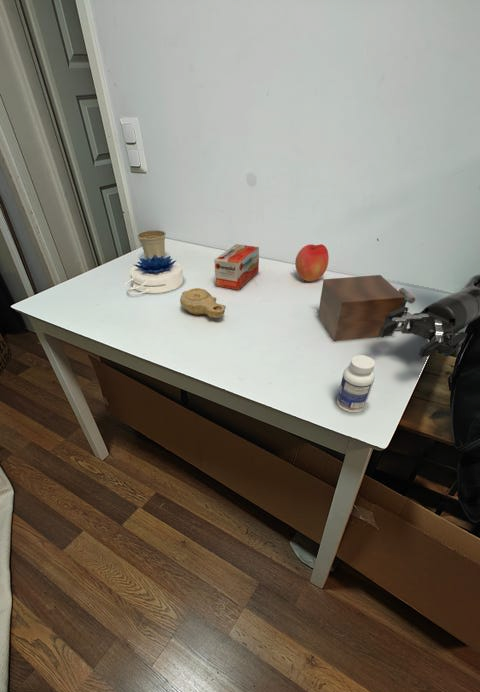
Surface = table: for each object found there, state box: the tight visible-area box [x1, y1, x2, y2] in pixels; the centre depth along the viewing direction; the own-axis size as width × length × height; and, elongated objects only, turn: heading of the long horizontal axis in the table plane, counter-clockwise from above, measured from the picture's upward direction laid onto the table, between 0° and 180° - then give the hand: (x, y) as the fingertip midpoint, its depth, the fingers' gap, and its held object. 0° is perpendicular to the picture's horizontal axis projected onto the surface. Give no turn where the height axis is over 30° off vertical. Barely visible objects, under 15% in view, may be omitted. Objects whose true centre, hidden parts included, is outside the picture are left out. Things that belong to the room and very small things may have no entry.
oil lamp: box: [179, 287, 227, 319], centre depth 90 cm, size 11×14×5 cm
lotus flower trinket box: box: [124, 255, 184, 295], centre depth 102 cm, size 7×16×20 cm
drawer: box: [397, 287, 416, 326], centre depth 83 cm, size 18×11×8 cm, turn 99°
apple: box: [294, 243, 330, 282], centre depth 102 cm, size 10×10×10 cm
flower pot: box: [136, 229, 167, 260], centre depth 116 cm, size 9×9×9 cm
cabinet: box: [317, 274, 405, 342], centre depth 83 cm, size 15×13×10 cm
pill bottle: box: [336, 354, 376, 413], centre depth 62 cm, size 5×5×10 cm
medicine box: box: [213, 243, 260, 291], centre depth 104 cm, size 15×8×8 cm, turn 155°
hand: (400, 342), depth 64 cm, fingers open, 8 cm apart
